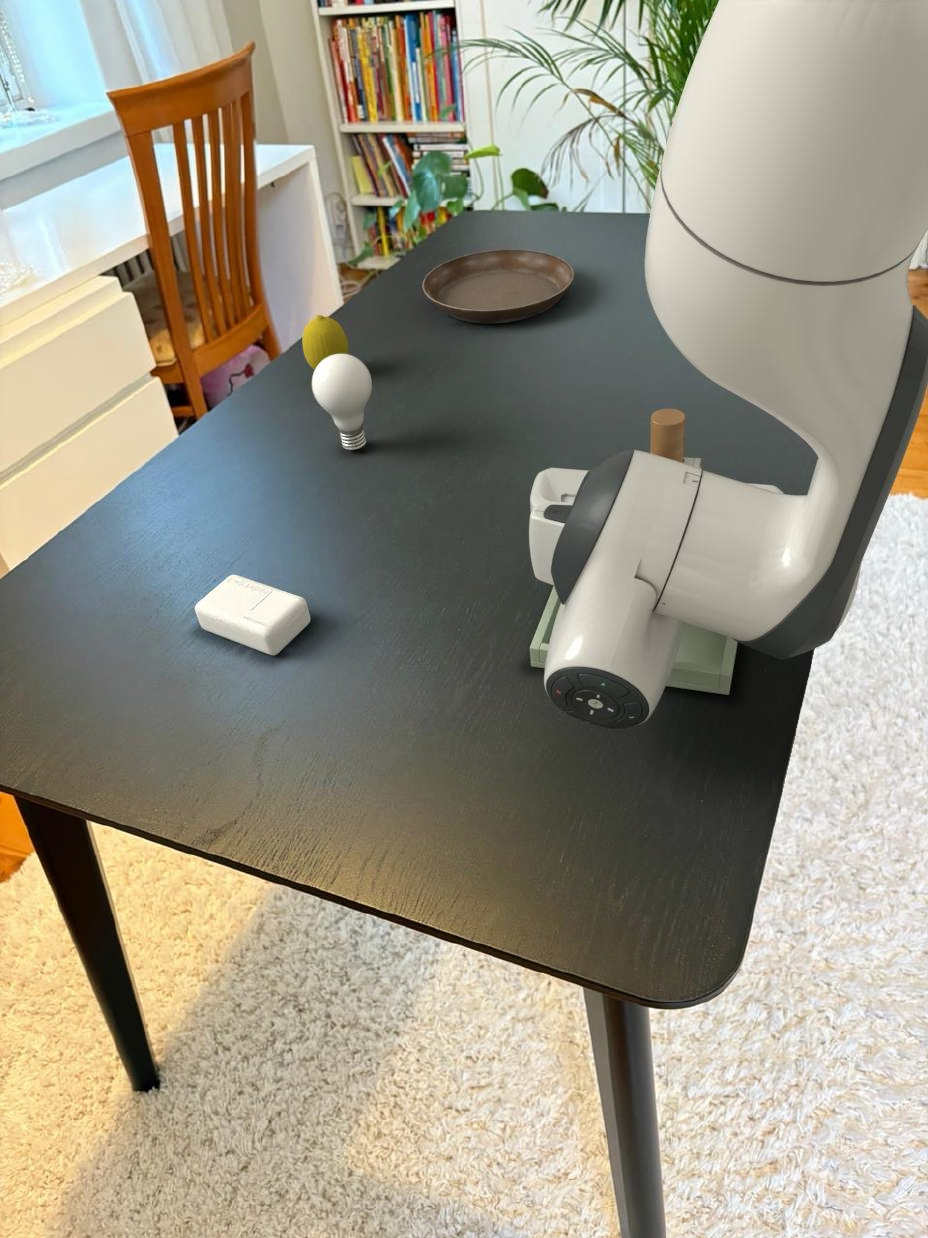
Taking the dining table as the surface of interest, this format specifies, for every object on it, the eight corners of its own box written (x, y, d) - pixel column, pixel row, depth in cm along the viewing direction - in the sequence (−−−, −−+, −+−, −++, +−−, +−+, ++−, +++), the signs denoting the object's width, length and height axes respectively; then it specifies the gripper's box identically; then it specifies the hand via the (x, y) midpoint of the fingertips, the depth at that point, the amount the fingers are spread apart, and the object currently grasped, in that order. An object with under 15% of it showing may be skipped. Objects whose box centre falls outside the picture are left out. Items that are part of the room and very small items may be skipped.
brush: (700, 528, 89) (708, 406, 81) (694, 555, 86) (701, 431, 78) (635, 522, 91) (636, 402, 83) (627, 548, 88) (627, 426, 80)
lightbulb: (361, 468, 105) (342, 375, 98) (315, 457, 108) (293, 365, 100) (394, 440, 109) (378, 348, 101) (349, 429, 111) (330, 339, 104)
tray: (758, 517, 91) (760, 498, 89) (728, 695, 74) (730, 675, 73) (593, 502, 95) (592, 484, 94) (530, 666, 79) (529, 647, 77)
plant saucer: (600, 279, 136) (600, 256, 134) (528, 342, 124) (526, 317, 121) (475, 263, 146) (473, 241, 143) (396, 320, 133) (392, 296, 131)
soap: (199, 631, 87) (189, 605, 85) (239, 595, 90) (231, 569, 88) (275, 660, 83) (267, 634, 81) (315, 621, 86) (308, 595, 84)
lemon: (361, 368, 123) (349, 307, 118) (339, 389, 119) (326, 327, 114) (324, 364, 125) (311, 304, 120) (301, 384, 121) (287, 323, 116)
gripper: (784, 538, 70) (797, 438, 79) (510, 512, 76) (553, 422, 85) (775, 605, 74) (789, 503, 83) (515, 576, 80) (556, 483, 89)
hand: (667, 462), depth 84 cm, fingers closed on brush, 3 cm apart
